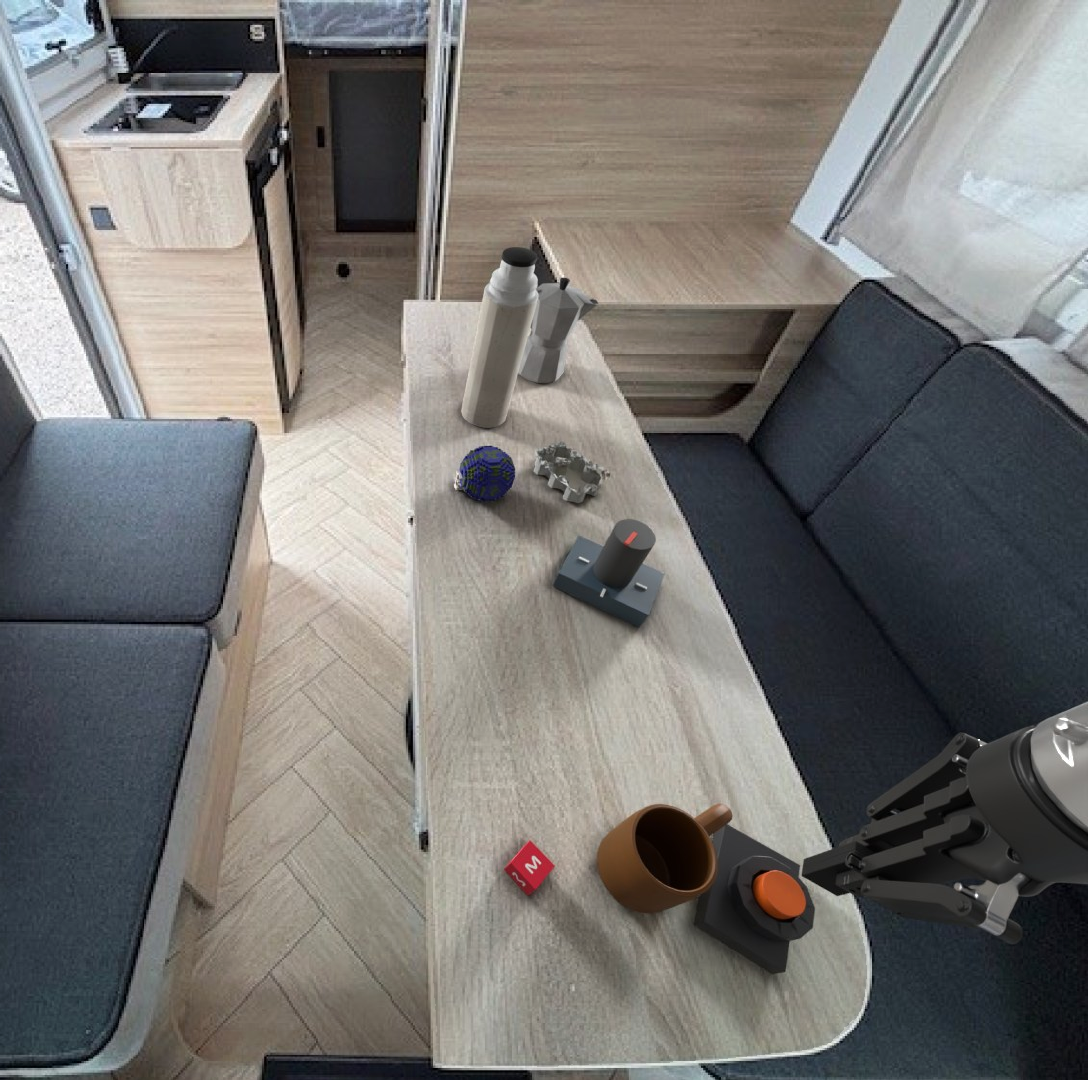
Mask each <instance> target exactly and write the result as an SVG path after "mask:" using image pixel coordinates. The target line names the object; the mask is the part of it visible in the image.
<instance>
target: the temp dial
mask: <svg viewBox="0 0 1088 1080" xmlns="http://www.w3.org/2000/svg"><path fill="white" fill-rule="evenodd" d="M656 541H657V537H656V534H655V532H654V530H653V529H652V528H651V527H650V526H649V525H648V524H647V523H645V522H643V521H640V520H638V519H633V518H624V519H621V520H619V521H617V522H616V523H615V525H614V526H613V528H612V530H611V532H610V534H609V536H608V537H607V539H606V541H605V543H604V545H603V546H604V547H603V549H602V551H601V553H600V554H599V556H598V558H597V560H596V562H595V564H594V566H593V571H594V574H595V576H596V578H597V579H598V580H599V581H600V582H601V583H603V584H605V585H607V586H609V587H612V588H623V587H625V586H627V585H628V584H629V583H630V582H631V580H632V579H633V577H634V576H635V574H636V573H637V571H638V569H639V568H640V566H641V565H642V563H643V564H644V561H646V558H647V557H648V555H649V554H650V552H651V551H652V549H653V547H654V546H655V545H656V543H657V542H656Z"/></svg>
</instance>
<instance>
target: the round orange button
mask: <svg viewBox="0 0 1088 1080" xmlns="http://www.w3.org/2000/svg"><path fill="white" fill-rule="evenodd" d="M753 893H754V897H755V899H756V901H757V903H758V904H759V906H760V907H761V908H762V909H763V910H764V911H765V912H766V913H767V914H769V915H770V916H772V917H774V918H777V919H788V918H792V917H796V916H799V915H801V914H802V913H803V911H804V909H805V906H806V900H805V896H804V893H803V891H802V889H801V887H800V886H799V884H798V883H797V882H796V881H795V880H794V879H793V878H792V877H790V876H789V875H787V874H786V873H784V872H781V871H769V872H767V873H764V874H762V875H759V876H757V877H756V878H755V880H754V882H753Z"/></svg>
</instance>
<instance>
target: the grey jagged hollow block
mask: <svg viewBox="0 0 1088 1080" xmlns="http://www.w3.org/2000/svg"><path fill="white" fill-rule="evenodd" d="M534 453H535V456H536V459H535V461H534V468H533V473H534V474H535V475H537V476H545V477H547V478H548V479H549V480H548V482H547V486H548V487H549V488H551V489H559V490H561V491H562V492H563V496H562V499H563V500H564V501H565V502H573V503H576V504H579V503H580V504H581V503H583V501H584V499H585V497H586V494H587V495H590V496H592V497H596V496H598V495H599V492H600V490H601V489H602V486H603V481H605V480H607V479H608V478H610V476H611V473H610V471H608V470H607V468H605V467H604V466H603V465H600V463H598V462H597V463H594V462H593V461H592V459H588V458H586V457H585V456H584V455H583V454H582V453H581V452H578V451H577V450H574V449H572V448H571V447H567V444H566V443H565V442H563V441H560V442H559V443H558V444H557V443H556V442H555V443H553V444H551V445H547V446H542V447H541V449H535V450H534Z"/></svg>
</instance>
